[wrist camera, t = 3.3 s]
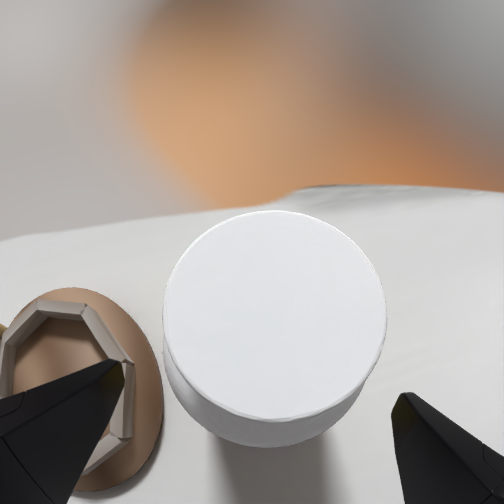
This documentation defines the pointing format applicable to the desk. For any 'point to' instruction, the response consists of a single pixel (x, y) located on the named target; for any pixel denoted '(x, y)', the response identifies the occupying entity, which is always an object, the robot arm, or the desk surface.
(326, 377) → the supplement bottle
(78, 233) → the desk surface
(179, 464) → the desk surface
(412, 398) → the robot arm
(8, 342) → the collar plate
